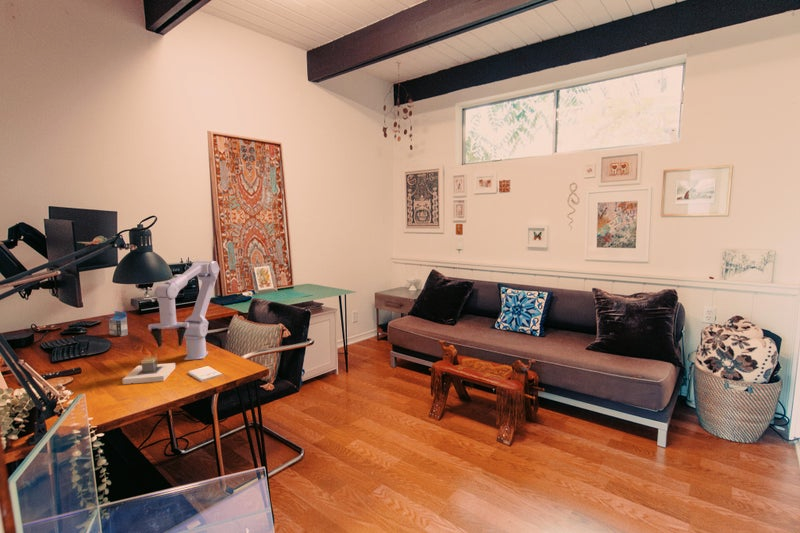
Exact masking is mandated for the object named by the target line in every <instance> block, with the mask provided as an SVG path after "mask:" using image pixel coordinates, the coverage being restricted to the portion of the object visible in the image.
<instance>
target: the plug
mask: <svg viewBox="0 0 800 533" xmlns="http://www.w3.org/2000/svg"><path fill="white" fill-rule="evenodd" d="M140 364H141V365H142V372H143V373H152V372H156V371H157V370H158V367H157V364H158V357H157V356H148V357H144V358H143V359H142V360H141V363H140Z"/></svg>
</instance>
